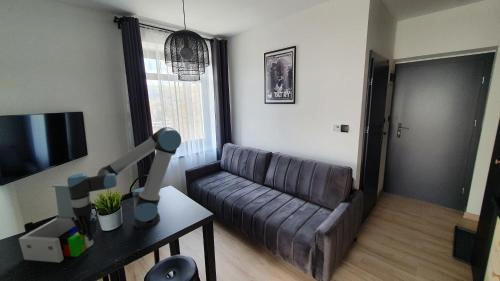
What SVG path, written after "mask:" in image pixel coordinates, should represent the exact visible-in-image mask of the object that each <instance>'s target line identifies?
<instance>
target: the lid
mask: <svg viewBox="0 0 500 281" xmlns="http://www.w3.org/2000/svg"><path fill="white" fill-rule="evenodd" d="M51 187H52V188H54V191H55V198H56V199H55V200H56V206H57V207H56V208H57V212H58V214H57V215H59V218H72V217H74V216H75V215H74V213H73V209H72V208H73V207H72V204H71V198H70V193H69V189H68V184H52V186H51Z"/></svg>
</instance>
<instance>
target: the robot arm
mask: <svg viewBox="0 0 500 281" xmlns="http://www.w3.org/2000/svg"><path fill="white" fill-rule="evenodd" d="M181 144H182V137H181V134H180V133H179V132H178V131H177V130H176V129H174V128H173V127H169V126H164V127H162V128H159V130H157V131H155V133H153V134H151V135H150V136H149V137H148V139H147V140H145V141H144V142H142V143H141V144H139V145H137V146H136V147H134V148H132V149H131V150H130V151H128V152H127V153H125V154H123V155H122V156H120V157H118V158H117V159H116V160H114V161H112V162H110V163H109V164H107V165H105V166H103V167H101V168H100V169H99V170H98V172H97V174H96V175H94V176H87V174H86V173H76V174H72V175H70V176H68V177H67V180H66V181H67V185H68V189H69V193H70V198H71V204H72V207H73V208H72V209H73V213H74V215H75V216H74V217H72V218H71V219H72V221H73V222H74V224H75V226H76V228H77V231H78V233H79V234H82V235H83V237H84V240H85V243H86V247H89V248H90V247H91V246H93V245H94V244H93V240H94V234H95V233H96V231H97V220H98V218H99V217H98V215H95V216H93V213H92V212H91V211H92V207H93V204H92V198H91V193H92V192H96V191H102V190H109V189H112V188H116V187H117V186H118V180H117V176H118V175H121V173H122V172H124V171H126V170H127V169H129V168H130V167H131V166H133V165H135V164H136V163H138V162H139V161H140V160H142V159H143V158H145V157H146V156H148V155H150V154H152V153H153V152H154V151H155V155H154V157H153V160H152V164H151V166H150V169H149V172H148V175H147V177H146V178H147V179H146V182H145V183H144V186H143V187H139V188H137V189H133V191H132V197H133V215H134V218H133V226H134V227H135V228H136V229H147V228H148V229H149V228H151V227H154V226H155V225H156V224H158V223H159V222H160V220H161V215H160V213H159V212H158V211H159V209H158V206H159V202H160V199H161V196H160V192H161V189H162V185H163V182H164V179H165V176H166V173H167V170H168V167H169V165H170V161H171V160H172V156H174V155H176V153H177V150H178V148H179V147H180V146H181ZM92 239H93V240H92Z"/></svg>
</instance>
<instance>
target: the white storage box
mask: <svg viewBox="0 0 500 281" xmlns="http://www.w3.org/2000/svg"><path fill="white" fill-rule="evenodd" d="M74 226H75V224H74V222H73V221H72V219H71V218H59V214H57V215H56V217H55V218H53V219H51V220H50V221H48V222H46V223H45V224H43V225H40V226H39V227H37V228H35V229H33V230H31V231H30V232H28V233H26V234H25V235H21V236H20V237H19V238H18V242H19V246H20V250H21V252H22V256H23V259H24V260H26V261H34V262H35V261H37V262H38V261H39V262H49V263H50V262H51V263H61V262H63V260H64V256H63V254H62V250H61V246H60V241H59V238H57V237H59V236H60V235H62V234H63V233H65V232H66V231H68V230H69V229H71V228H72V227H74Z"/></svg>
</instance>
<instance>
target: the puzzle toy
mask: <svg viewBox="0 0 500 281" xmlns="http://www.w3.org/2000/svg"><path fill="white" fill-rule="evenodd" d="M57 238H59V241H60V246H61V250H62V254H63V257H73V258H74V257H76V258H77V257H79V256H80V255H82V254H83V253H84V252H85V251H86V250H87V249H89V248H90V247H86V243H85V240H84V237H83V235H82V234H79V233H78V231H77V228H76V226H74V227H72V228H71V229H69V230H68V231H66V232H65V233H63V234H62V235H60V236H59V237H57ZM92 240H93V245H94V244H95V241H94V238H93V239H92Z"/></svg>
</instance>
